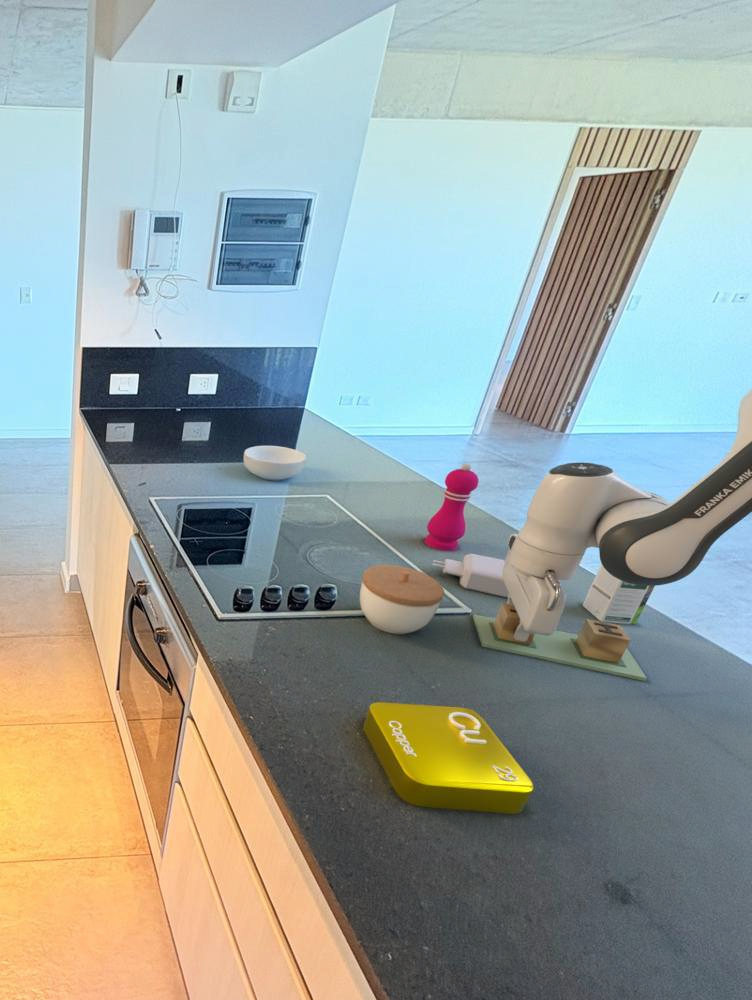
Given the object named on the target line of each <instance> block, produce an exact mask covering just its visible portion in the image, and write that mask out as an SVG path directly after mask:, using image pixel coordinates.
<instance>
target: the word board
mask: <svg viewBox="0 0 752 1000" xmlns="http://www.w3.org/2000/svg"><path fill="white" fill-rule="evenodd" d="M472 619H473V622H474V625H475V629H476V631H477V635H478V639H479V641H480V644H481V647H482V648H488V649H493V650H497V651H501V652H502V651H503V652H507V653H512V654H517V655H521V656H525V657H530V658H535V659H539V660H544V661H549V662H553V663H559V664H563V665H566V666H572V667H577V668H581V669H587V670H591V671H596V672H600V673H604V674H611V675H615V676H620V677H624V678H627V679H628V678H629V679H632V680H633V679H634V680H638V681H642V682H646V680H647V675H645V673H644V671H643V670H642V668H641V667H640V666H639V664H638V662H637V661H636V659H635V657H634V656H633V655H632V654H631V652H630V650H629V649H628V647H627V648H626V650H625V652H624V654H623V656H622V658H621V659H620V661H619V663H616V662H611V661H606V660H601V659H596V658H591V657H587V656H584V655H583V653H582V652H581V650H580V648H579V646H578V644H577V642H576V640H577V638H578V635H579V634H576V633H570V632H565V631H561V630H557V629H556V630H555V632H554V633H553V634H552V635H550V636H544V635H539V634H535V635H534V637H533V639H532V642H531V644H530V645H529V644H524V643H519V642H514V641H509V640H504V639H500V638H498V636H497V633H496V630H495V628H494V625H493V624H494V622H495V619H496V617H490V616H484V615H480V614H476V613H475V614H473V615H472Z"/></svg>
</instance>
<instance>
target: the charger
mask: <svg viewBox="0 0 752 1000" xmlns="http://www.w3.org/2000/svg"><path fill="white" fill-rule="evenodd" d="M432 562H433V563H432V566H434V567H438V568H442V573H443V574H447V575H451V576H457V577H459V585H460V586H461V587H463V588H464V589H467V590H471V591H476V592H480V593H485V594H490V595H492V596H498V597H502V598H505V599H508V594H509V592H508V590H507V588H506V585H505V583H504V581H503V579H502V571H503V566H504V563H505V559H500V558H495V557H490V556H485V555H481V554H477V553H467V554H465V555H464V557H463V560H462V561H459V560H455V559H450V558H445V559H444V561H440V560H435V559H433V560H432Z"/></svg>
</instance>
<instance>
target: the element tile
mask: <svg viewBox="0 0 752 1000" xmlns="http://www.w3.org/2000/svg"><path fill="white" fill-rule="evenodd" d="M362 728H363V732H364V734H365V736H366V737H367V739H368V741H369V743H370V746H371V747H372V749H373V751H374V753H375V755H376V757H377V759H378V761H379V763H380V765H381V766H382V768H383V770H384V772H385V774H386V775H387V778H388V779H389V781H390V784H391V785H392V787H393V789H394V791H395V793H396V794H397V796H399V798H401V799H402V800H403V801H404V802H406V803H408V804H410V805H412V806H416V807H420V808H431V809H432V808H433V809H434V808H435V809H446V810H458V811H469V812H470V811H471V812H484V813H495V814H496V813H497V814H509V815H515V814H519V813H522V812H523V810H524V808H525V807H526V804H527V802H528V800H529V798H530V797H531V794H532V793H533V791H534V783H533V781H532V779H531V778H530V777H529V776H528V774H527V773H526V772H525V771H524V769H523V767H521V766H520V764H519V763H518V762H517V761H516V759H515V758H514V757H513V755H512V754H511V752H509V750H508V749H507V747H506V746H505V744H504V743H503V742H502V741H501V739H499V736H497V734H496V733H495V732H494V731H493V730H492V729H491V727H490V725H488V723H487V721H486V720H485V719H484V718H483V717H482V716H481V715H480V714H479V713H477V712H476V711H475V710H473V709H472V708H471V709H470V708H467V707H461V706H448V705H447V706H446V705H431V704H419V703H418V704H417V703H402V702H385V701H376V702H372V703H371V704H370V705H368V710H367V713H366V717H365V719H364V722H363V727H362Z"/></svg>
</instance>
